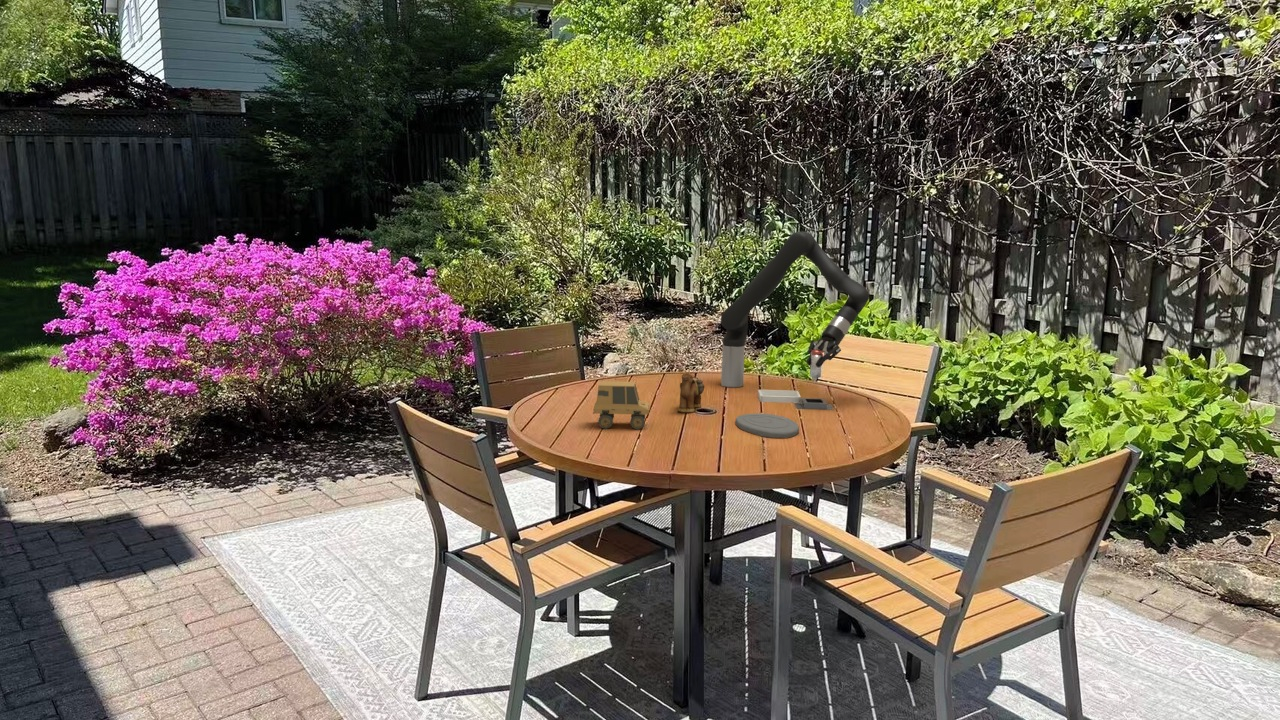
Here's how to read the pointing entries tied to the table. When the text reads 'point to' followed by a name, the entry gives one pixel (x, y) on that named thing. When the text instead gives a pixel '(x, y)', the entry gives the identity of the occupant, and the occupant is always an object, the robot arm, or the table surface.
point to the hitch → (813, 404)
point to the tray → (779, 396)
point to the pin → (814, 369)
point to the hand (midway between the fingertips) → (812, 364)
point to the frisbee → (767, 425)
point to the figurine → (690, 393)
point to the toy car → (620, 403)
